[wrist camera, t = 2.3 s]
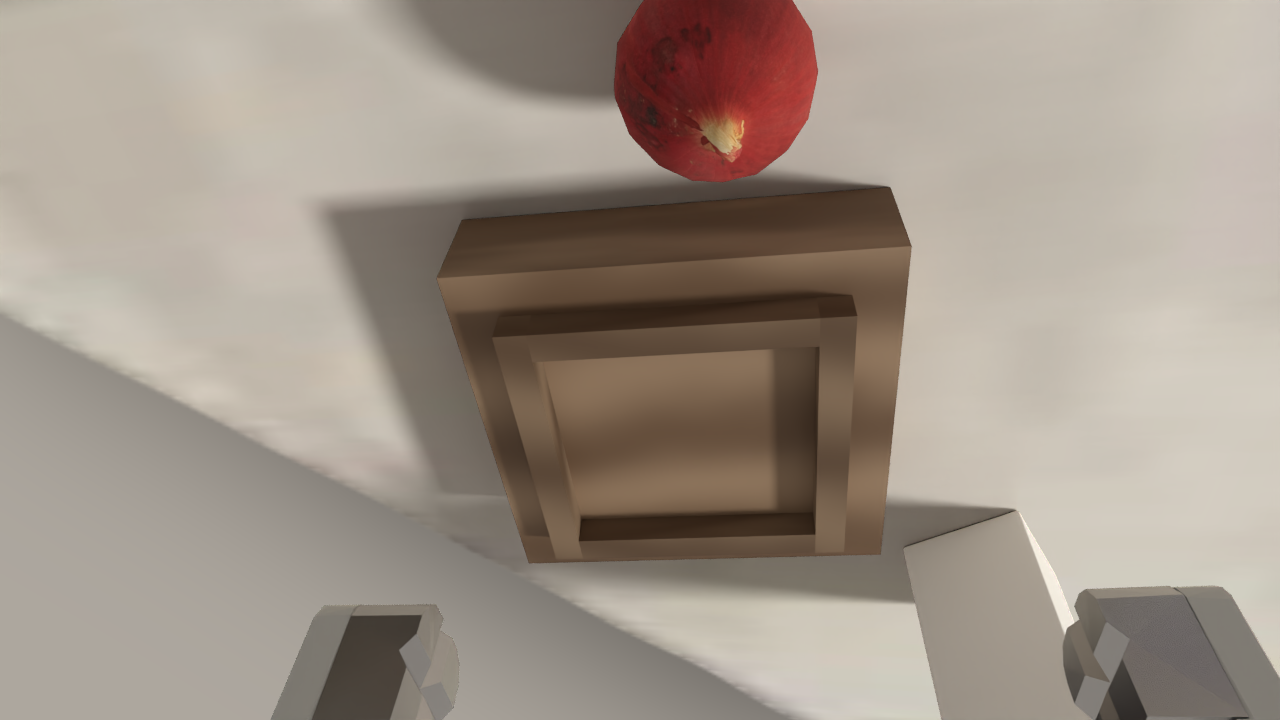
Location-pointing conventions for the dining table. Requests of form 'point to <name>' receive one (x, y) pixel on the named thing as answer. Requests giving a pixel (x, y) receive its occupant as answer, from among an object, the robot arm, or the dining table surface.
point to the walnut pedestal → (688, 373)
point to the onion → (715, 83)
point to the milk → (992, 623)
